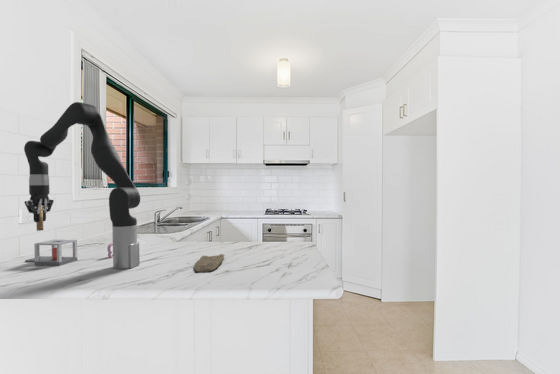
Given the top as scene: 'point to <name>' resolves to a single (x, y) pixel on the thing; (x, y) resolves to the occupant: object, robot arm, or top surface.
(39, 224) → the oak dowel
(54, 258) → the plunger
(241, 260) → the top surface
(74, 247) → the grey open cage
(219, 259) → the stone tool
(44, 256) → the pad
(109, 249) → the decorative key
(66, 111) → the robot arm
